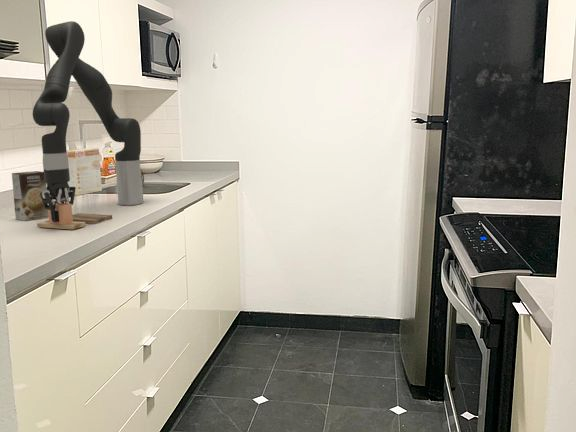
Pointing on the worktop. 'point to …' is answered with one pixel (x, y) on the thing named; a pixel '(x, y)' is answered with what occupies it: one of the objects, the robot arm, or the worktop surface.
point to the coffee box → (29, 195)
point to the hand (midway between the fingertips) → (60, 220)
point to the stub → (62, 219)
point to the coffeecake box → (84, 170)
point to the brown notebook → (90, 218)
